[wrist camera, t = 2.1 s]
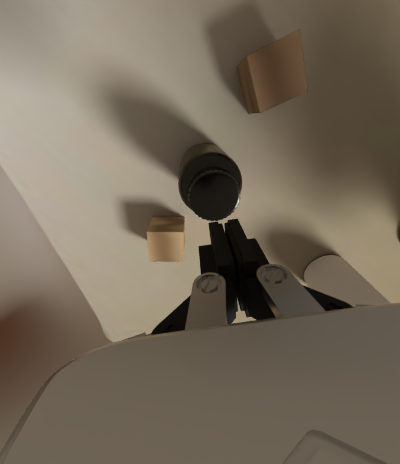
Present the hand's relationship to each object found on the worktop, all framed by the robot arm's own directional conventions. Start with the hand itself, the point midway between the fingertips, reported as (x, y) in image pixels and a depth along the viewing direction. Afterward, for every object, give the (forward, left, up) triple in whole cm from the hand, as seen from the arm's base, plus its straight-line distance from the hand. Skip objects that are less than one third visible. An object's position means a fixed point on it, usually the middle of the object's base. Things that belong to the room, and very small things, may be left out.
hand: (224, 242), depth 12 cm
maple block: (+7, +9, -20) cm, 23 cm away
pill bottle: (-20, +22, -20) cm, 36 cm away
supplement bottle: (0, 0, -20) cm, 20 cm away
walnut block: (-8, -9, -20) cm, 23 cm away
